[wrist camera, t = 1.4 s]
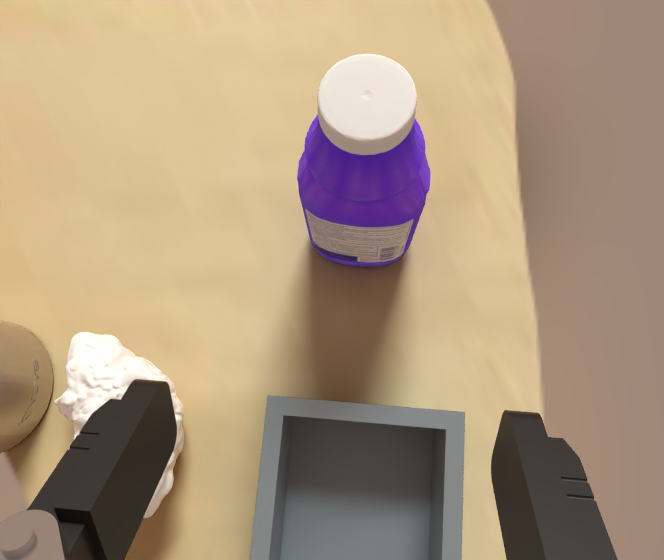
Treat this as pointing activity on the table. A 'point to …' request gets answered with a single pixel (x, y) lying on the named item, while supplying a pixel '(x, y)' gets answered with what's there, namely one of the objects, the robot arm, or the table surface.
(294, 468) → the tote
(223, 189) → the table surface
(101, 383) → the bust
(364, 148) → the bottle
